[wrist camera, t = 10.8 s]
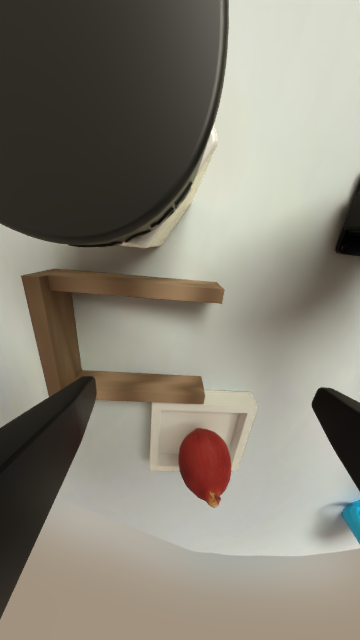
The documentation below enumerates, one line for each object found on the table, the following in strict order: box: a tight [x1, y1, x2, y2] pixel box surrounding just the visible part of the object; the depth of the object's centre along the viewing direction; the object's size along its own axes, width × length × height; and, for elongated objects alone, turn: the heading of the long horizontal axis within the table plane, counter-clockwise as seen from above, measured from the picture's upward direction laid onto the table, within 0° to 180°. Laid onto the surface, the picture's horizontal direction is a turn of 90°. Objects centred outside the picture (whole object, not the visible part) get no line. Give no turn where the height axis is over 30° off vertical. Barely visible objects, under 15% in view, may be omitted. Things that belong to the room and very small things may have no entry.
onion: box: [178, 428, 232, 508], centre depth 20 cm, size 6×6×8 cm
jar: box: [0, 0, 229, 248], centre depth 9 cm, size 9×8×12 cm
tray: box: [149, 390, 258, 472], centre depth 24 cm, size 12×12×2 cm
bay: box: [21, 269, 224, 404], centre depth 18 cm, size 15×12×4 cm
